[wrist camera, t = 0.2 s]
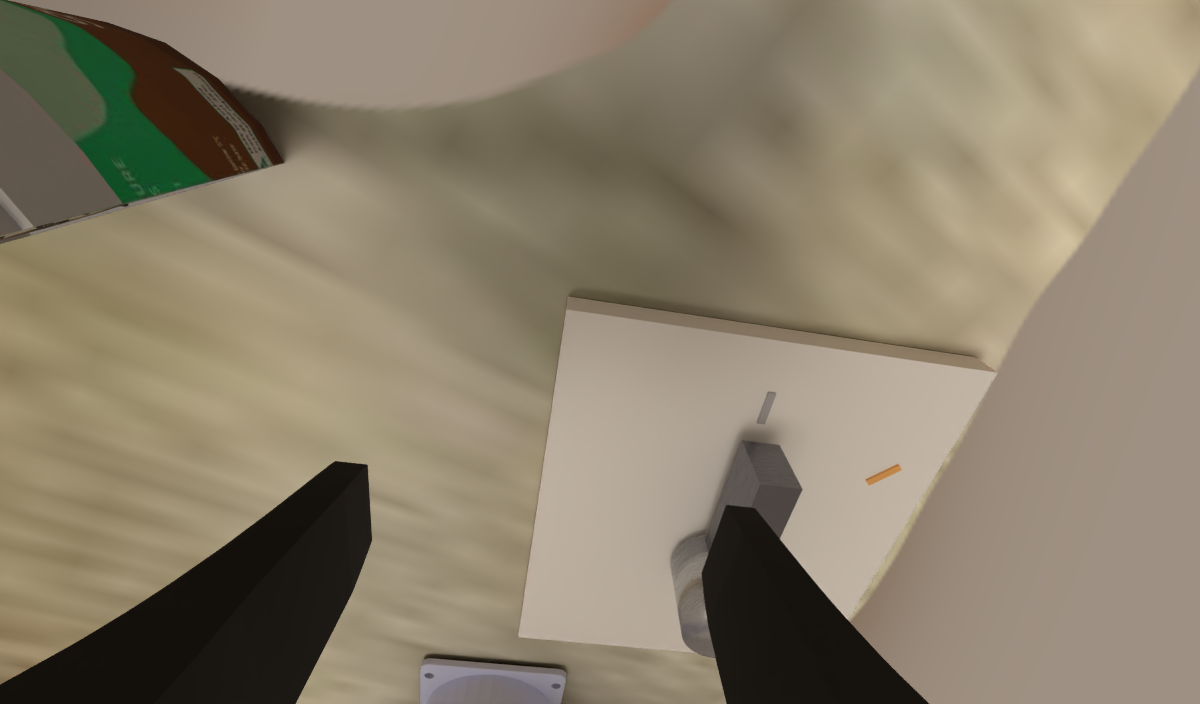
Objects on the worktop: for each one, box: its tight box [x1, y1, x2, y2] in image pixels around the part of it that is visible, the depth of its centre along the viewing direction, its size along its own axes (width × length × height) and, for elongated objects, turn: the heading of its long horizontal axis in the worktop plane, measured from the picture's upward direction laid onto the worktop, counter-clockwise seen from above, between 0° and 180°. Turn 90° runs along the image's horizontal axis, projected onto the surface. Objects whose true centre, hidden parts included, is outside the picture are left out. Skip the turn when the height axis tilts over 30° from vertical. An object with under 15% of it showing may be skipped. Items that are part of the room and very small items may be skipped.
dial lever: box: [670, 440, 803, 658], centre depth 20 cm, size 9×4×3 cm, turn 170°
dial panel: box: [518, 296, 997, 653], centre depth 23 cm, size 18×16×1 cm
